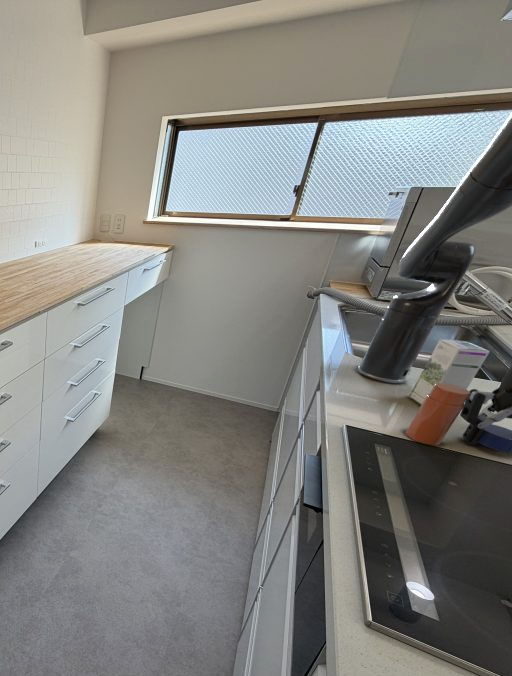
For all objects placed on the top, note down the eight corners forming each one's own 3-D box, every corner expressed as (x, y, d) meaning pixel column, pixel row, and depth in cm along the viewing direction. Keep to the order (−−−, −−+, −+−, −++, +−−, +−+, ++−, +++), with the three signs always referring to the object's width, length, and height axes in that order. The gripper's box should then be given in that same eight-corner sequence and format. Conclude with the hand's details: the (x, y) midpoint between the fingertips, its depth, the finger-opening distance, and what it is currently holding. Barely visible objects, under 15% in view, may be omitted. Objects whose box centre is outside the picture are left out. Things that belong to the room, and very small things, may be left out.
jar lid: (494, 452, 74) (503, 440, 73) (462, 433, 80) (469, 422, 79) (527, 454, 75) (536, 442, 73) (492, 435, 80) (500, 424, 79)
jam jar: (398, 430, 82) (426, 381, 77) (424, 431, 82) (454, 383, 77) (419, 444, 78) (450, 393, 73) (447, 446, 77) (480, 395, 72)
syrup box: (454, 412, 90) (493, 350, 83) (423, 408, 91) (459, 347, 84) (435, 400, 95) (470, 341, 88) (406, 396, 96) (438, 338, 89)
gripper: (505, 365, 69) (452, 447, 77) (627, 384, 64) (557, 469, 72) (480, 351, 76) (433, 428, 83) (590, 367, 71) (529, 447, 78)
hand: (491, 447), depth 78 cm, fingers closed on jar lid, 6 cm apart
